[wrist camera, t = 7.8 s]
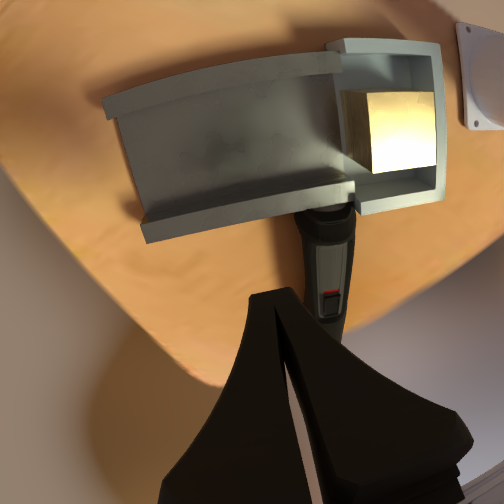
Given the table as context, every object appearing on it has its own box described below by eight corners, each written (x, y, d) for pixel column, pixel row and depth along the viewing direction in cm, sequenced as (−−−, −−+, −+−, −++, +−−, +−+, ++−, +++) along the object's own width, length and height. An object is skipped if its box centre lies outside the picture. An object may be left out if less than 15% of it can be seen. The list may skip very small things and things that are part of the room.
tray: (412, 45, 14) (439, 43, 12) (420, 184, 19) (444, 199, 17) (324, 44, 14) (343, 38, 12) (343, 197, 19) (361, 215, 17)
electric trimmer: (295, 360, 26) (303, 389, 24) (289, 189, 18) (302, 210, 16) (336, 352, 27) (347, 379, 24) (348, 183, 19) (370, 202, 16)
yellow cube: (399, 87, 15) (433, 91, 12) (403, 149, 17) (435, 165, 14) (339, 90, 15) (366, 93, 12) (347, 156, 17) (372, 173, 14)
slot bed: (326, 53, 15) (339, 50, 13) (342, 188, 19) (355, 200, 17) (114, 96, 15) (101, 98, 13) (153, 227, 19) (146, 244, 17)
